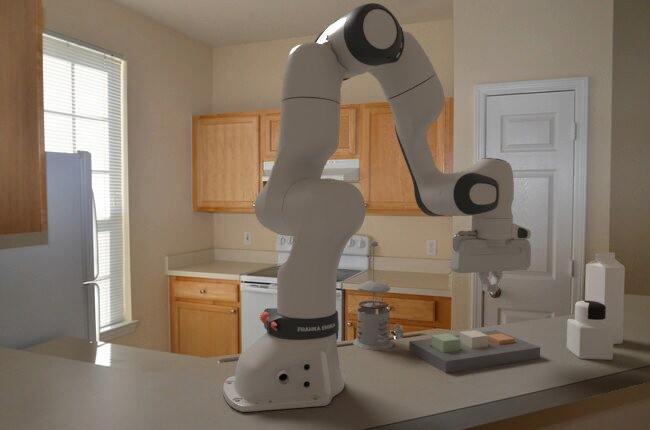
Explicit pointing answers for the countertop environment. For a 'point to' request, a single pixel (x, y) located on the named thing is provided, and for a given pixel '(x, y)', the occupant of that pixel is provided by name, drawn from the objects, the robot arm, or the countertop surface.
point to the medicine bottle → (590, 332)
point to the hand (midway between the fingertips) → (489, 291)
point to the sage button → (445, 343)
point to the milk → (607, 290)
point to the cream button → (473, 339)
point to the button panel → (474, 354)
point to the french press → (373, 317)
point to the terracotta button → (500, 339)
